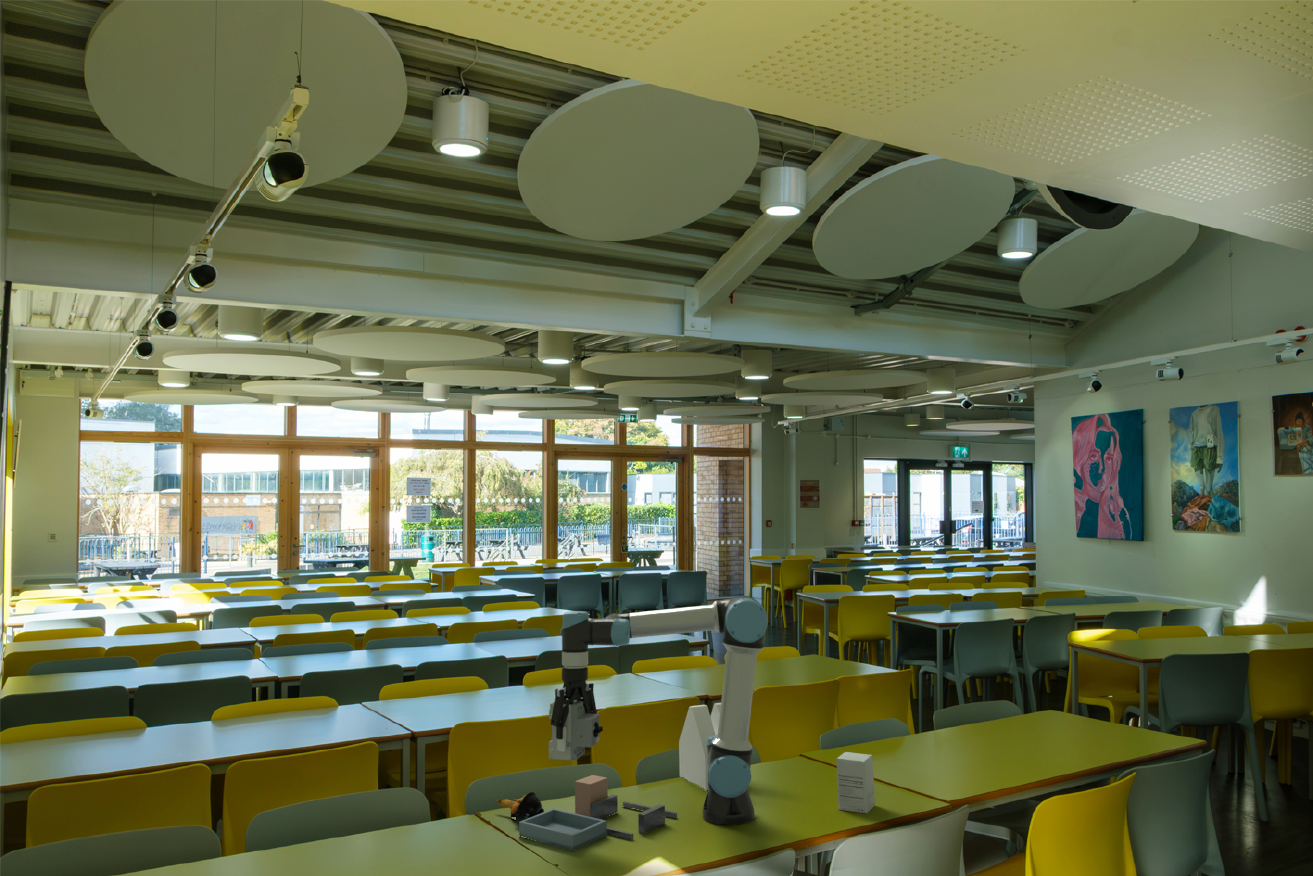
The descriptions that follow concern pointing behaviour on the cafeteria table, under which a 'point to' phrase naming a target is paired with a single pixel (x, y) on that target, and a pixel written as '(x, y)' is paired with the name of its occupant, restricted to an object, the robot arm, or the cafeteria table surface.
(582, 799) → the beige rectangular block
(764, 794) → the cafeteria table surface
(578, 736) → the circuit breaker
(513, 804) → the fried shrimp in bowl
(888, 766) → the cafeteria table surface
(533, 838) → the tray
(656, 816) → the grey blocks
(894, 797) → the cafeteria table surface
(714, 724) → the milk carton
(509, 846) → the cafeteria table surface
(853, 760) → the supplement box
